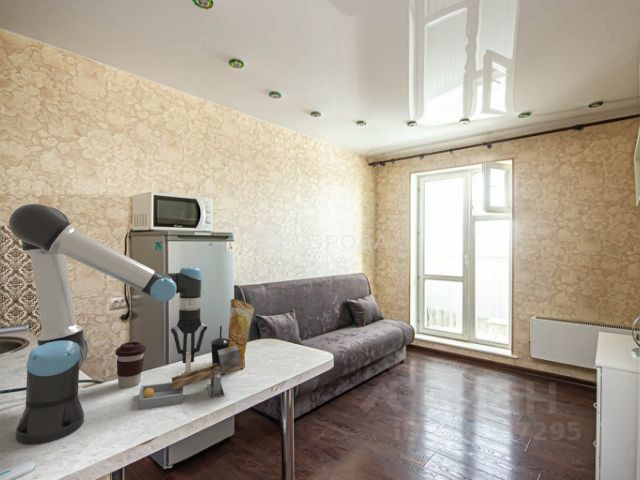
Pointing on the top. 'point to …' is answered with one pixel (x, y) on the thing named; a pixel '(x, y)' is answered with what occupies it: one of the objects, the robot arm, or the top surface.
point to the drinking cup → (218, 347)
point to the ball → (148, 393)
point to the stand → (215, 384)
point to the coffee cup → (130, 363)
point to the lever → (210, 368)
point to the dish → (160, 395)
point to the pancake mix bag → (240, 326)
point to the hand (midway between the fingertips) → (187, 371)
